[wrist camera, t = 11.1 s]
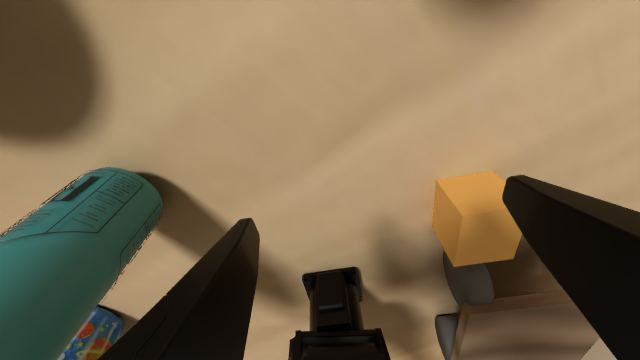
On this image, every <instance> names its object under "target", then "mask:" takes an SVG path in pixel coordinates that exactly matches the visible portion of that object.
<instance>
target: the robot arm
mask: <svg viewBox="0 0 640 360" xmlns="http://www.w3.org/2000/svg"><path fill="white" fill-rule="evenodd" d="M502 200H503V203H504V204H505V206H506V208H507V209H508V211H509V213H510V214H511V216H512V218H513V219H514V221H515V223H516V224H517V226H518V228H519V229H520V231H521V233H522V234H523V236H524V237H525V239H526V240H527V242H528V243H529V245H530V246H531V247H532V249H533V250H534V251H535V252H536V254H537V255H538V256H539V258H540V259H541V260H542V262H543V263H544V264H545V266H546V267H547V268H548V270H549V271H550V272H551V273H552V275H553V276H554V277H555V279H556V280H557V281H558V283H559V284H560V285H561V287H562V288H563V289H564V291H565V292H566V293H567V294H568V296H569V297H570V298H571V300H572V301H573V302H574V304H575V305H576V306H577V308H578V309H579V310H580V312H581V313H582V314H583V315H584V317H585V318H586V319H587V321H588V322H589V323H590V325H591V326H592V327H593V329H594V330H595V331H596V333H597V334H598V335H599V336H600V338H601V339H602V340H603V341H604V343H605V344H606V346H607V347H608V348H609V350H610V351H611V352H612V354H613V355H614V356H615V357H616V359H617V360H640V212H637V211H634V210H631V209H628V208H625V207H622V206H619V205H616V204H612V203H609V202H606V201H603V200H600V199H597V198H594V197H590V196H587V195H584V194H581V193H578V192H575V191H572V190H568V189H565V188H562V187H559V186H556V185H553V184H550V183H547V182H543V181H540V180H537V179H534V178H531V177H528V176H525V175H517V176H511V177H508V178H507V180H506V183H505V187H504V191H503V194H502ZM259 243H260V236H259V233H258V230H257V228H256V226H255V223H254V221H253V219H252V218H245V219H240V220H239V221H238V222H237V223H236V224H235V225H234V226H233V227H232V228H231V229H230V230H229V231H228V232H227V233H226V234H225V235H224V236H223V237H222V238H221V239H220V240H219V241H218V242H217V243H216V244H215V245H214V246H213V247H212V248H211V249H210V250H209V251H208V252H207V253H206V254H205V255H204V256H203V257H202V258H201V259H200V260H199V261H198V262H197V263H196V264H195V265H194V266H193V267H192V268H191V269H190V270H189V271H188V272H187V273H186V274H185V275H184V276H183V278H182V279H181V280H180V281H179V282H178V283H177V284H176V285H175V286H174V287H173V288H172V289H171V290H170V291H169V292H168V293H167V294H166V296H164V297H163V298H162V299H161V300H160V301H159V302H158V303H157V304H156V305H155V306H154V307H153V308H152V309H151V310H150V311H149V312H148V313H147V314H146V315H144V316H143V317H142V318H141V319H140V320H139V321H138V322H137V323H136V324H135V325H134V326H133V327H132V328H131V329H130V330H129V331H127V332H126V333H125V334H124V335H123V336H122V337H121V338H120V339H119V340H118V341H117V342H115V343H114V344H113V345H112V346H111V347H110V348H109V349H108V350H106V351H105V352H104V353H103V354H102V355H101V356H100V357H99V358H98V359H96V360H243V357H244V351H245V345H246V340H247V334H248V328H249V323H250V317H251V311H252V306H253V300H254V294H255V289H256V283H257V275H258V260H259ZM302 281H303V284H304V286H305V289H306V292H307V295H308V297H309V300H310V331H301V330H299V331H296V335H295V337H294V338H293V339H291V340H290V347H289V359H288V360H391V359H390V356H389V353H388V350H387V347H386V344H385V341H384V337H383V334H382V331H381V328H375V329H373V330H364V327H363V321H362V315H361V309H360V303H359V302H361V301H362V295H361V288H360V282H359V276H358V270H357V268H355V267H352V268H344V269H337V270H330V271H323V272H316V273H308V274H304V275H303V276H302Z"/></svg>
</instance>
